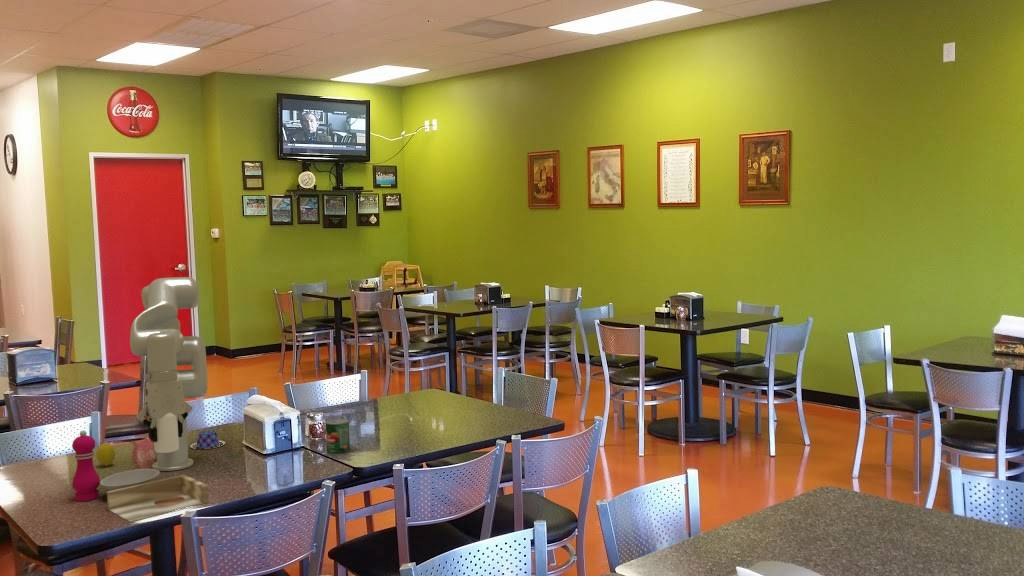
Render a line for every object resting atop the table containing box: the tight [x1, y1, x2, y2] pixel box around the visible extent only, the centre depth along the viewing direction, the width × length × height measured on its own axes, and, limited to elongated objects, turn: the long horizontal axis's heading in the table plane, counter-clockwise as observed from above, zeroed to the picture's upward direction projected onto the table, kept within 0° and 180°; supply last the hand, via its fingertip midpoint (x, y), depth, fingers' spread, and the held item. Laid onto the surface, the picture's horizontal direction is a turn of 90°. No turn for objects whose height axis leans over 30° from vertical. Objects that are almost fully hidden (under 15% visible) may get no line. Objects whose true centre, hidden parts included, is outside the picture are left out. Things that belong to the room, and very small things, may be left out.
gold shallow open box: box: [106, 474, 210, 523], centre depth 243 cm, size 16×22×5 cm
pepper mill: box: [71, 430, 101, 502], centre depth 251 cm, size 7×7×20 cm
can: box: [153, 413, 179, 454], centre depth 245 cm, size 6×6×12 cm
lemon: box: [96, 442, 116, 467], centre depth 285 cm, size 6×6×8 cm
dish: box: [99, 468, 161, 491], centre depth 255 cm, size 18×14×5 cm
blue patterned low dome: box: [189, 430, 226, 450], centre depth 309 cm, size 12×12×5 cm
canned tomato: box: [324, 418, 351, 456], centre depth 296 cm, size 8×8×11 cm
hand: (166, 438), depth 245 cm, fingers closed on can, 6 cm apart
